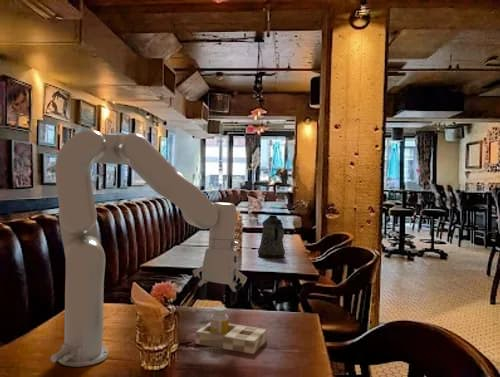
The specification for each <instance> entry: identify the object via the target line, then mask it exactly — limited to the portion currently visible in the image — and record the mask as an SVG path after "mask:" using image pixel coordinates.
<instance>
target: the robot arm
mask: <svg viewBox="0 0 500 377" xmlns="http://www.w3.org/2000/svg"><path fill="white" fill-rule="evenodd" d="M94 164H110V165H128V166H129V168H131V169H132V170H133V172H135V173H136V174H137V175H138V176H139V177H140V178H141V180H143V182H145V183H146V184H147V185H148V186H149V187H150V188H151V189H152V190H153V191H154V192H155V193H157V194H158V195H160V196H161V197H163V198H165V199H166V200H168V201H170V202H171V203H172V204H174V206H176V207H177V208H178V209H179V210H180V211H182V217H183V219H184V221H185V222H186V223H187V224H189V225H190V226H192V227H196V228H198V229H201V230H207V229H209V234H208V247H206V249H205V252H204V257H203V261H202V262H203V263H202V266H200V267H197V268H195V269H193V270H192V274H193V276H194V280H195V281H196V283H197V285H198V287H199V289H198V290H199V293H198V296H199V301H203V300H206V299H207V293H208V285H207V283H208V282H210V283H216V284H223V285H228V286H229V288H230V289H231V291H230V292H229V306H233V305H235V304H236V303H237V302H238V294H239V293H238V292H239V290H240V289H241V288H243V286H244V285H245V283H246V282H247V279H248V277H247V276H246V275H244V274H243V273H242V272H240V271H239V262H238V261H239V260H238V259H239V258H238V251H237V249H236V247H237V248H238V247H239V242H237V241H236V239H235V236H236V235H235V234H236V220H237V219H236V217H237V206H236V205H235V204H234V203H232V202H222V201H221V202H219V201H218V202H217V201H216V202H212V201H211V200H210V199H209V197H207V196H206V195H205V194H204V193H203V192H202V191H201V190H200V189H199V188H198V186H196V185H195V184H194V183H193V182H191V181H190V180H189V179H188V178H187V177H185V176H184V175H183V173H181V172H180V171H178V170H177V169H176V168H175V167H174V166H173V165H172V163H170V161H168V159H166V158H165V157H164V155H163V154H162V153H161V152H160V151H159V150H158V149H157V148H156V147H155V146H154V145H153V144H152V142H150V141H149V140H148V139H147V138H146V137H145V136H144V135H142V134H141V133H136V132H131V133H127V134H113V133H112V134H109V133H101V132H100V131H98V130H96V129H91V128H88V129H87V128H86V129H82V130H80V131H78V132H77V133H75V134H74V135H73V136H71V137H70V138H68V139H67V140H66V142H64V143H63V145H62V147H61V148H60V150H59V151H58V154H57V156H56V159H55V163H54V175H55V184H56V193H57V199H58V220H59V221H58V222H59V228H60V234H61V239H62V244H63V251H64V257H65V279H64V280H65V283H64V284H65V286H64V290H65V291H64V341H63V342H64V343H63V344H61V349H59V351H57V352H55V353H53V354H51V355H50V361H51V362H52V363H56V362H58V363H60V364H61V365H64V366H65V367H72V368H73V367H79V368H80V367H87V366H92V365H96V364H98V363H99V364H100V363H101V362H103V361H105V360H106V359H107V358H108V357H109V349H108V348H107V347H106V346H104V344H103V341H104V339H103V338H104V336H103V335H104V293H105V292H104V288H105V286H104V285H105V283H104V282H105V271H106V253H105V251H104V250H105V249H104V248H103V246H102V245H101V242H100V238H99V237H100V236H99V232H98V225H97V219H98V211H97V208H96V205H95V198H94V193H93V186H92V176H91V172H92V167H93V165H94ZM200 272H201V275H200ZM238 279H239V280H240V281H239V282H238V283H237V281H238Z"/></svg>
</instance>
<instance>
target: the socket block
mask: <svg viewBox="0 0 500 377" xmlns="http://www.w3.org/2000/svg"><path fill="white" fill-rule="evenodd" d="M267 332H268V330H267V329H266V328H260V327H255V326H248V325H242V324H235V323H230V322H228V333H227V334H221V333H215V332H210V322H208V323H207V324H206V325H204V326H202V327H201V328H200V329H198V330H196V331H195V344H196V345H202V346H207V347H211V348H212V347H213V348H219V349H224V350H229V351H235V352H240V353H246V354H251V355H254V354H255V353H256V352H257V351H258V350H259V349H260V348H261V347H262V346H264V344H265V343H266V342H267V336H268V333H267Z"/></svg>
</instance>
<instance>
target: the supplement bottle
mask: <svg viewBox="0 0 500 377" xmlns="http://www.w3.org/2000/svg"><path fill="white" fill-rule="evenodd" d="M212 313H213V314H211V316H210V322H209V323H210V332H215V333H221V334H227V333H228V323H229V316H228V314H227V307H226V306H225V307H224V306H214V307H213V309H212Z"/></svg>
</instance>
